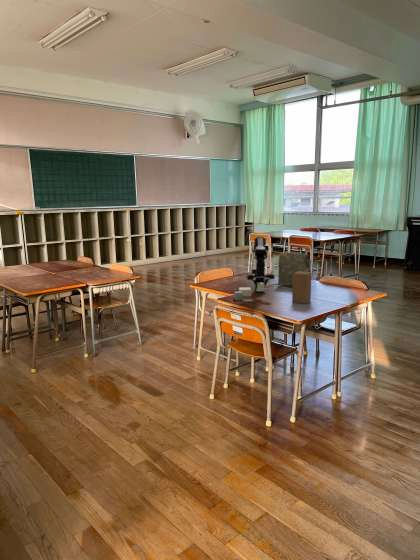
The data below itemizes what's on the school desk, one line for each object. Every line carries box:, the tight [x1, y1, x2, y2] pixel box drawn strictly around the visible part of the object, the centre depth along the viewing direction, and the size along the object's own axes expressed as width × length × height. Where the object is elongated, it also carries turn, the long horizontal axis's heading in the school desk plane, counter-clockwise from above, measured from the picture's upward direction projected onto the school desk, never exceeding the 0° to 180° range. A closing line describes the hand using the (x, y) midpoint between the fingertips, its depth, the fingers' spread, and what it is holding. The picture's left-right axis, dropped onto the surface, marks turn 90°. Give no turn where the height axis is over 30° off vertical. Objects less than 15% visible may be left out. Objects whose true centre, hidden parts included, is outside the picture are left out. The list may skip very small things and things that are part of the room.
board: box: [242, 298, 257, 303], centre depth 282 cm, size 8×6×1 cm
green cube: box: [256, 283, 266, 291], centre depth 288 cm, size 5×5×5 cm
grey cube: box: [233, 290, 244, 301], centre depth 288 cm, size 5×5×5 cm
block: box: [291, 271, 312, 305], centre depth 277 cm, size 10×10×20 cm
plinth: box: [238, 286, 252, 297], centre depth 300 cm, size 8×8×5 cm
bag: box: [277, 251, 311, 288], centre depth 327 cm, size 22×16×27 cm
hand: (260, 288), depth 288 cm, fingers closed on green cube, 5 cm apart
